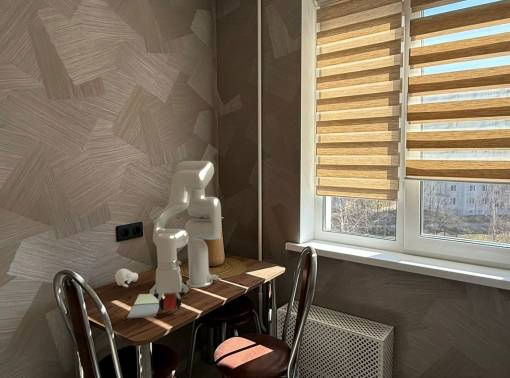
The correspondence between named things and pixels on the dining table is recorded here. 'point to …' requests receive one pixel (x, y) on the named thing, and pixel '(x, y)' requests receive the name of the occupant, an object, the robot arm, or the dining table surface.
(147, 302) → the mat
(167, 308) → the onion
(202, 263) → the robot arm
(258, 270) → the dining table surface
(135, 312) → the toy mat
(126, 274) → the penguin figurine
